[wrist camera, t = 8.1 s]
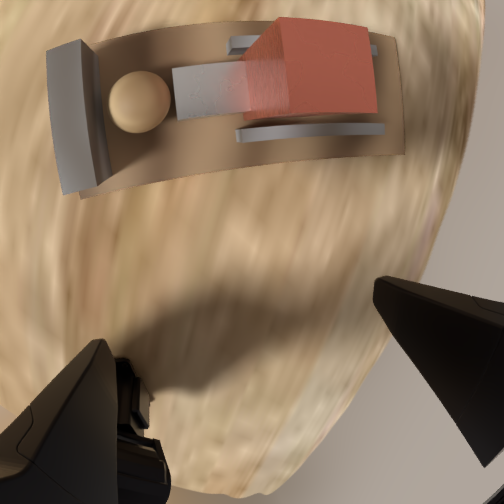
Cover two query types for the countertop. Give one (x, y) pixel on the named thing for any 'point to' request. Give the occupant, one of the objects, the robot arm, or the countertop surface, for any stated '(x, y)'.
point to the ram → (285, 75)
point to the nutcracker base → (196, 130)
